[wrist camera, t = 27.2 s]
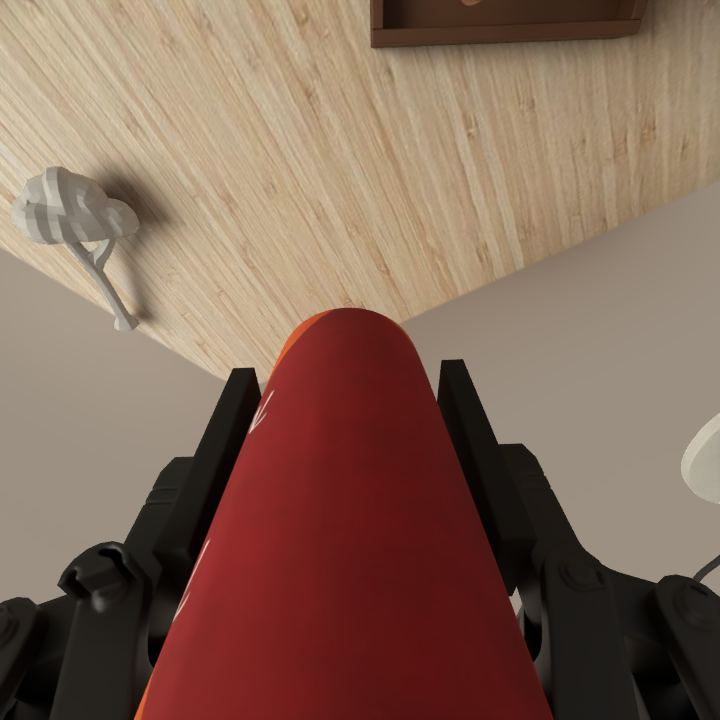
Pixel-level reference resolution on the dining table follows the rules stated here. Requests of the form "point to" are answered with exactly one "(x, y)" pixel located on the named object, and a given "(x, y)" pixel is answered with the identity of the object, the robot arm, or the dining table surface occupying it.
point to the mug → (469, 2)
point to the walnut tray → (500, 21)
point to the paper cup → (346, 557)
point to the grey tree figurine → (77, 224)
